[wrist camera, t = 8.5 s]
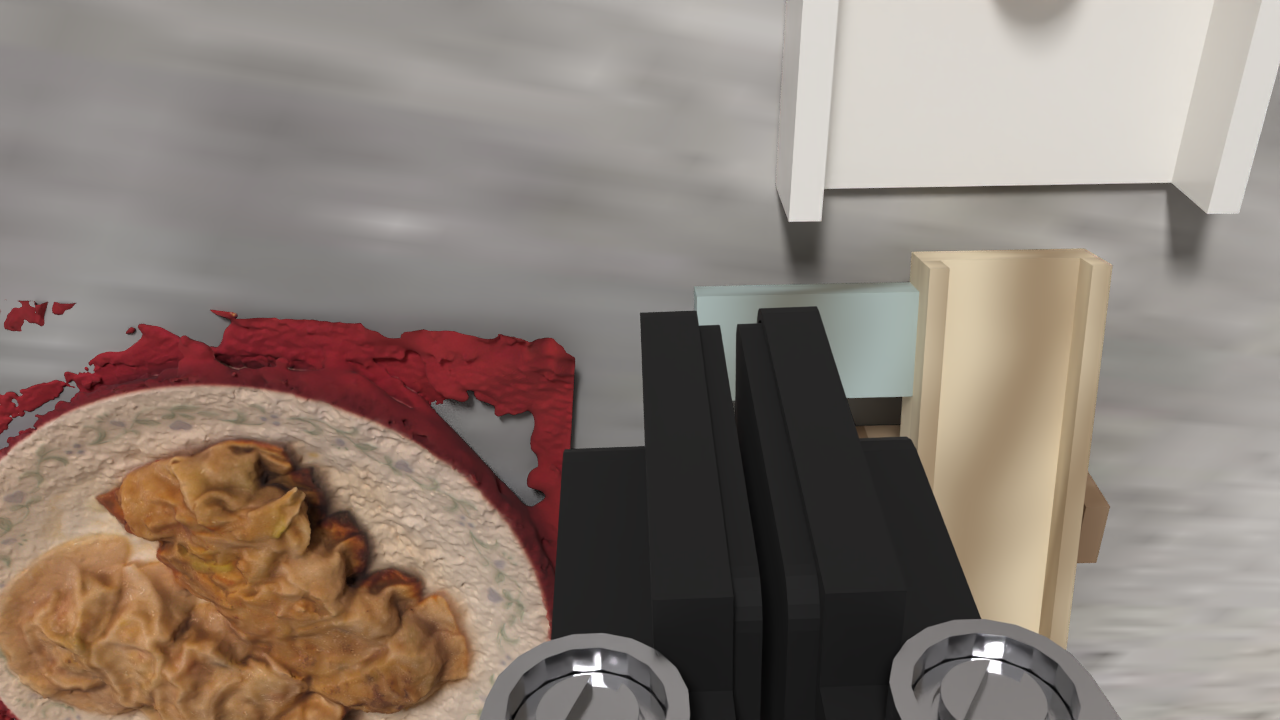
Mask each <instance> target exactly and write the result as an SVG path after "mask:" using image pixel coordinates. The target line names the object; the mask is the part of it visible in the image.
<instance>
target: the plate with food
mask: <svg viewBox="0 0 1280 720" xmlns="http://www.w3.org/2000/svg"><path fill="white" fill-rule="evenodd" d="M19 302H20V303H22V307H20V308H13V309H12V310H11V312H10V313H9V314H8V315H7V319H6V321H5V322H4V328H5V329H8V330H11V331H21V326H22V325H23V323H24V320H27V321H28V322H29V323H36V324H38V325H40V326H43V325H44V314H45V310H46V308H47V303H48V302H46V303H43V304H41V305H36V303H35V308H34V307H31V306H30V305H29V301H19ZM34 302H35V301H34ZM75 304H76V303H73V304H59V303H57V302H54V304H53V307H52V311H53V313H54V314H57V315H62V314H63V313H64V311H65V310H68V309H71V308H72V307H73V306H74V305H75ZM35 311H36V313H35ZM211 311H212V312H213V313H215V314H216V315H219V316H222V317H225V318H228V319H230V320H231V324H230V325H229V326H228V327H227V328H226V330H225V331H224V335H223V339H222V342H221V344H220V345H219V346H218V347H212V346H211V347H209V346H208V345H206V344H205V343H202V342H199V341H195V340H192V339H190V338H189V337H187V336H182V337H181V338H180V337H179V336H177V335H175V334H173V333H171V332H169V331H167V330H165V329H163V328H161V327H158V326H151V325H146V324H139V325H138V328H139V330H140V331H141V332H142V334H143V335H142V338H141V339H140V340H139V341H138V342H137V343H135V344H134V345H133V346H131V347H130V348H128V349H127V350H126V351H122V352H105V353H101V354H99V355H97V356H96V357H95V358H94V359H92V360H91V361H90V362H89V365H90V366H91V365H92V364H94V366H95V369H94V371H95V373H93V374H91V373H89V372H87V373H85V372H84V373H79V374H78V375H77V374H74V373H71V372H65V374H64V376H65V379H66V383H65V382H62V381H58V380H54V381H52V382H49V383H42V384H37V385H34V386H31V387H29V388H27V389H22V390H20V393H22V394H23V395H22V396H20V397H19V396H18V395H17V394H16V393H14V392H7V393H6V394H5V395H0V404H1V405H0V434H1V433H2V432H3V431H4V430H7V429H8V424H9V423H10V422H11V421H12V420H13V419H12V418H16V417H17V416H21V417H22V416H24V414H25V412H24V410H25V411H28V412H31V411H33V410H35V409H36V408H38V407H40V406H42V405H43V404H44V403H46V402H48V401H49V400H54V398H55V397H58V396H59V394H60V393H61V392H62V391H63V390H64V388H63V387H65V386H69V387H73V386H70V385H69V384H68V382H71V381H75V383H76V385H77V387H78V388H79V389H80V391H79V392H78V393H77V394H75V397H73V398H72V399H71V402H65V401H59V402H58V403H57V404H56V405H55V410H53V411H50V412H48V413H47V414H45V415H38V414H37V415H35V417H38V420H37V421H36V423H35V424H34V427H35V429H31V428H29V429H26V430H25V431H20V432H19V436H16V437H9V438H8V440H7V443H9V446H8V447H5V448H3V449H1V450H0V720H14V719H15V720H479V719H480V716H481V713H482V710H483V707H484V704H485V700H486V698H487V696H488V694H489V692H490V690H491V688H492V686H493V685H494V683H495V681H496V679H497V677H498V675H499V674H500V673H501V672H503V671H504V670H505V669H506V668H507V667H508V666H509V665H510V664H511V663H512V662H513V661H514V660H515V659H516V658H517V657H518V656H520V655H522V654H523V653H525V652H527V651H529V650H531V649H533V648H534V647H536V646H538V645H540V644H542V643H544V642H547V641H551V630H552V615H553V599H554V584H555V568H556V552H557V537H558V521H559V505H560V490H561V474H562V460H563V452H564V450H565V449H570V442H571V424H572V406H573V388H574V370H575V358H574V357H573V356H571V355H569V354H567V353H566V351H565V350H564V348H563V347H562V346H561V345H559V344H558V343H557V342H556V341H555V340H554V339H552V338H543V339H537V340H535V341H533V342H528V341H525V340H522V339H518V338H515V337H509V336H504V335H502V334H498V337H496V338H494V339H482V338H478V337H475V336H470V335H464V334H461V333H458V332H455V331H427V330H424V329H423V330H418V331H412V332H404V333H403V334H402V335H401V338H394V339H393V338H386V337H384V336H383V335H381V334H380V333H378V332H376V331H371V330H368V329H366V328H365V327H364V326H363V325H362V324H361V323H356V324H351V323H341V322H336V323H331V322H328V321H317V320H304V319H303V320H294V319H282V320H279V319H277V318H252V319H236V318H237V316H238V315H237V314H236V313H233V312H225V311H216V310H211ZM134 331H135V328H133V327H131V328H129V329H128V331H127V332H126V334H130V333H133V332H134ZM85 370H86V371H88V370H89V369H88V368H87V367H85ZM73 388H75V387H73ZM467 390H471V391H473V392H474V396H475V397H476V398H477V399H478V400H480V401H483V402H486V403H489V404H491V405H493V406H494V407H495V415H496V416H502V415H505V414H508V413H509V414H512V415H516V414H519V413H523V412H525V411H530V412H531V413H532V414H533V416H534V421H535V426H534V430H533V433H532V436H531V443H530V444H531V449H532V451H533V452H534V453H536V455H537V458H538V467H537V468H535V469H533V470H532V471H531V472H530V473H529V475H528V478H527V485H528V487H530V488H532V489H536V490H540V491H542V492H543V493H544V494H545V498H544V499H543V500H542V501H541V502H539V503H538V504H536V505H534V506H532V507H531V506H527V505H525V504H524V503H522V502H521V501H520V500H519V498H518V497H517V496H516V495H515V494H514V493H513V492H512V491H511V490H510V489H509V488H508V487H507V486H506V484H505V483H503V482H502V481H501V480H500V479H499V478H498V477H497V476H496V475H495V474H494V473H493V472H492V470H491V469H490V468H489V467H488V466H487V465H486V464H485V463H484V462H483V461H482V460H481V459H480V457H479V456H478V455H477V454H476V453H475V452H474V451H473V450H472V449H471V448H470V447H469V446H468V445H467V444H466V443H465V441H464V440H463V439H462V438H461V437H460V436H459V435H458V434H457V433H456V432H455V431H454V430H453V429H452V428H451V427H450V426H449V425H448V424H447V423H446V422H445V421H444V420H443V419H442V418H441V417H440V416H439V415H438V414H437V413H436V411H435V409H432V407H431V406H430V405H431V402H434V401H435V400H436V401H437V402H436V405H438V404H439V403H441V404H443V400H445V399H454V400H457V401H459V402H464V401H466V400H468V398H469V396H468V393H467ZM12 399H16V400H17V402H18V404H19V405H18V407H16V406H15V405H16V404H15V403H12V402H11V401H12ZM18 413H19V414H18ZM10 415H12V418H11V417H9V416H10Z"/></svg>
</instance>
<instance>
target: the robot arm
mask: <svg viewBox="0 0 1280 720" xmlns="http://www.w3.org/2000/svg"><path fill="white" fill-rule="evenodd" d="M640 321H641V348H642V376H643V403H644V430H645V446H639V447H612V448H586V449H565V450H564V452H563V460H562V474H561V490H560V505H559V521H558V537H557V552H556V568H555V584H554V599H553V615H552V630H551V641H547V642H544V643H542V644H540V645H538V646H536V647H534V648H533V649H531V650H529V651H527V652H525V653H523V654H522V655H520V656H518V657H517V658H516V659H515V660H514V661H513V662H512V663H511V664H510V665H509V666H508V667H507V668H506V669H505V670H504V671H503V672H501V673H500V674H499V675H498V677H497V679H496V681H495V683H494V685H493V686H492V688H491V690H490V692H489V694H488V696H487V698H486V700H485V704H484V707H483V710H482V713H481V716H480V719H479V720H1121V718H1120V717H1119V715H1118V714H1117V712H1116V711H1115V710H1114V708H1113V707H1112V705H1111V704H1110V702H1109V701H1108V699H1107V698H1106V696H1105V695H1104V693H1103V692H1102V690H1101V689H1100V687H1099V686H1098V684H1097V683H1096V681H1095V680H1094V679H1093V677H1092V676H1091V675H1090V673H1089V672H1088V671H1087V670H1086V669H1085V668H1084V667H1083V666H1082V665H1081V664H1080V662H1079V661H1078V660H1077V659H1076V658H1075V657H1074V656H1073V655H1072V654H1071V653H1070V652H1068V651H1067V650H1065V649H1064V648H1062V647H1061V646H1059V645H1058V644H1056V643H1055V642H1053V641H1052V640H1050V639H1049V638H1047V637H1046V636H1043V635H1040V634H1038V633H1035V632H1033V631H1030V630H1028V629H1025V628H1023V627H1020V626H1018V625H1015V624H1009V623H1004V622H998V621H993V620H987V619H981V617H980V614H979V611H978V609H977V606H976V604H975V601H974V598H973V596H972V593H971V591H970V588H969V585H968V583H967V580H966V577H965V575H964V572H963V570H962V567H961V564H960V562H959V559H958V557H957V554H956V551H955V549H954V546H953V544H952V541H951V538H950V536H949V533H948V530H947V528H946V525H945V523H944V520H943V517H942V515H941V512H940V510H939V507H938V504H937V502H936V499H935V497H934V494H933V491H932V489H931V486H930V483H929V481H928V478H927V476H926V473H925V470H924V468H923V465H922V463H921V460H920V457H919V455H918V452H917V450H916V447H915V446H914V444H913V442H912V440H911V439H910V438H908V437H906V436H905V437H879V438H859V436H858V433H857V430H856V427H855V423H854V420H853V417H852V414H851V411H850V408H849V404H848V401H847V398H846V395H845V392H844V389H843V385H842V382H841V379H840V376H839V373H838V369H837V366H836V363H835V360H834V357H833V354H832V350H831V347H830V344H829V341H828V338H827V335H826V331H825V328H824V325H823V322H822V319H821V316H820V312H819V310H818V308H817V306H808V307H781V308H759V310H758V315H757V323H752V324H737V329H736V381H735V416H734V409H733V403H732V397H731V391H730V384H729V378H728V372H727V366H726V359H725V353H724V347H723V340H722V334H721V328H720V325H699V323H698V315H697V311H675V312H648V313H640Z"/></svg>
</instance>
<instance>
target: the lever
mask: <svg viewBox="0 0 1280 720" xmlns="http://www.w3.org/2000/svg"><path fill="white" fill-rule="evenodd" d="M1111 273H1112V265H1111V264H1110V263H1108V262H1106V261H1105V260H1103V259H1101V258H1099V257H1098V256H1096V255H1094V254H1093V253H1091V252H1089V251H1087V250H1086V249H1036V250H985V251H934V252H912V256H911V271H910V282H891V283H842V284H793V285H744V286H695V287H694V311H697V315H698V323H699V325H720V328H721V334H722V340H723V347H724V353H725V359H726V366H727V372H728V378H729V384H730V391H731V397H732V401H735V381H736V329H737V324H752V323H757V315H758V310H759V308H781V307H808V306H817V308H818V310H819V312H820V316H821V319H822V322H823V325H824V328H825V331H826V335H827V338H828V341H829V344H830V347H831V350H832V354H833V357H834V360H835V363H836V366H837V369H838V373H839V376H840V379H841V382H842V385H843V389H844V392H845V395H846V398H868V397H902V412H901V428H900V437H905V436H906V437H908V438H910V439H911V440H912V442H913V444H914V446H915V447H916V450H917V452H918V455H919V457H920V460H921V463H922V465H923V468H924V470H925V473H926V476H927V478H928V481H929V483H930V486H931V489H932V491H933V494H934V497H935V499H936V502H937V504H938V507H939V510H940V512H941V515H942V517H943V520H944V523H945V525H946V528H947V530H948V533H949V536H950V538H951V541H952V544H953V546H954V549H955V551H956V554H957V557H958V559H959V562H960V564H961V567H962V570H963V572H964V575H965V577H966V580H967V583H968V585H969V588H970V591H971V593H972V596H973V598H974V601H975V604H976V606H977V609H978V611H979V614H980V617H981V619H987V620H993V621H998V622H1004V623H1009V624H1015V625H1018V626H1020V627H1023V628H1025V629H1028V630H1030V631H1033V632H1035V633H1038V634H1040V635H1043V636H1046V637H1047V638H1049V639H1050V640H1052V641H1053V642H1055V643H1056V644H1058V645H1059V646H1061V647H1062V648H1064V649H1065V650H1066V648H1067V639H1068V631H1069V623H1070V614H1071V606H1072V598H1073V589H1074V581H1075V573H1076V565H1077V556H1078V548H1079V540H1080V531H1081V523H1082V515H1083V506H1084V498H1085V490H1086V481H1087V473H1088V465H1089V456H1090V448H1091V440H1092V431H1093V423H1094V415H1095V406H1096V398H1097V390H1098V381H1099V373H1100V365H1101V356H1102V348H1103V340H1104V332H1105V323H1106V315H1107V307H1108V298H1109V290H1110V282H1111Z"/></svg>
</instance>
